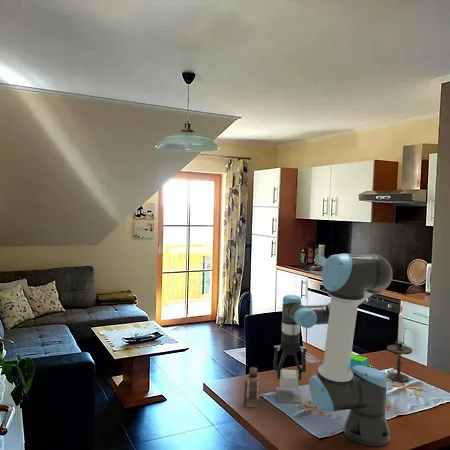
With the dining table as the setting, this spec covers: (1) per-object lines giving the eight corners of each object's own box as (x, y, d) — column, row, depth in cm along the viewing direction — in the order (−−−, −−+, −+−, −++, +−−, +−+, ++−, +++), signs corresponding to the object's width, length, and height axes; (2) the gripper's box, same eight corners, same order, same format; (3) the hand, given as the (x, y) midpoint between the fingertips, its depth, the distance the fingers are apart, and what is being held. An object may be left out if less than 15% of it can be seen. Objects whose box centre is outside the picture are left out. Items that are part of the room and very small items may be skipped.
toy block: (375, 376, 208) (376, 355, 207) (363, 383, 198) (364, 362, 198) (355, 370, 215) (356, 350, 214) (342, 377, 205) (343, 356, 205)
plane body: (258, 407, 171) (259, 382, 171) (246, 406, 172) (246, 381, 171) (258, 381, 197) (259, 359, 197) (247, 381, 197) (248, 359, 197)
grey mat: (302, 403, 176) (302, 402, 176) (277, 402, 177) (277, 401, 177) (299, 389, 190) (299, 388, 190) (276, 388, 191) (276, 387, 191)
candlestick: (411, 384, 198) (414, 308, 197) (386, 380, 202) (389, 305, 201) (410, 376, 208) (413, 303, 207) (386, 372, 212) (389, 301, 211)
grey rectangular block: (297, 387, 178) (297, 378, 178) (282, 387, 179) (282, 377, 179) (295, 379, 187) (295, 370, 187) (281, 378, 188) (281, 369, 188)
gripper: (312, 331, 185) (310, 384, 186) (267, 328, 187) (265, 382, 188) (314, 336, 178) (312, 392, 179) (268, 334, 179) (266, 389, 180)
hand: (288, 386), depth 183 cm, fingers closed on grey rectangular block, 6 cm apart
